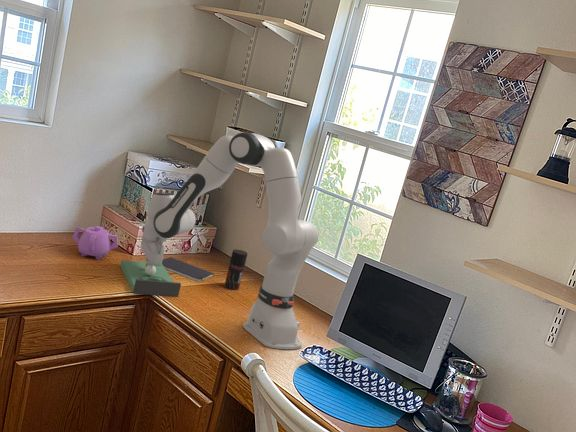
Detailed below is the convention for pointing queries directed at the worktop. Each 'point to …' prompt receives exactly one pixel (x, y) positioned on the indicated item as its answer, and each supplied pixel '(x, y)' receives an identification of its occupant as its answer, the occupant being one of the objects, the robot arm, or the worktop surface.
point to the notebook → (185, 269)
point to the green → (149, 280)
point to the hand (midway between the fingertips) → (148, 268)
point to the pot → (94, 241)
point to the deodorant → (235, 269)
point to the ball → (150, 270)
